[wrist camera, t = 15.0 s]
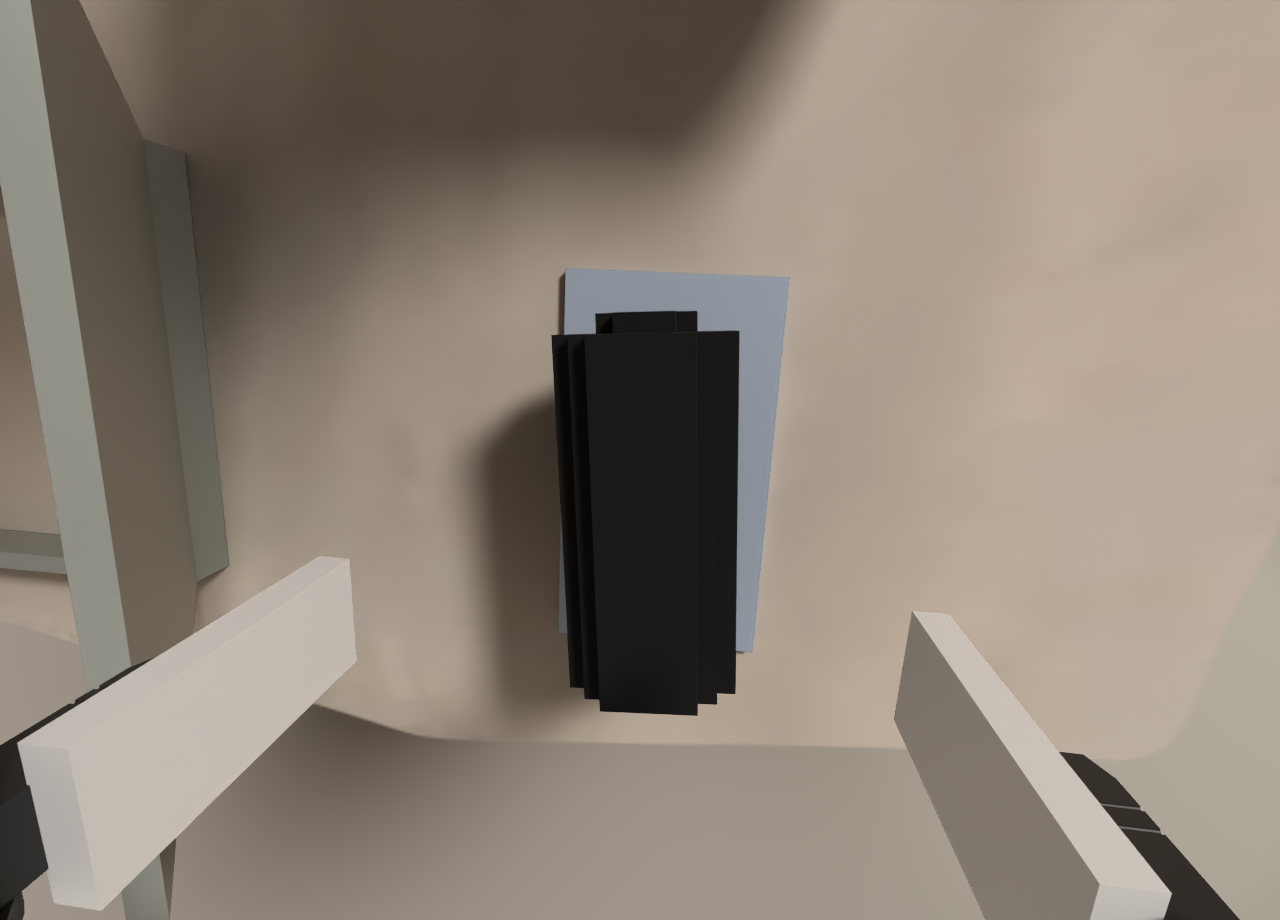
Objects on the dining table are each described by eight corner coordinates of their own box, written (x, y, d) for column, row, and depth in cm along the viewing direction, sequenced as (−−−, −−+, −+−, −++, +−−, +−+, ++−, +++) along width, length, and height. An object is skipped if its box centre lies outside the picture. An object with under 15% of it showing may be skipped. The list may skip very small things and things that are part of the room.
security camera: (604, 649, 35) (565, 776, 25) (591, 317, 31) (539, 313, 21) (727, 654, 34) (736, 786, 24) (730, 313, 30) (742, 307, 20)
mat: (568, 269, 31) (565, 268, 30) (787, 278, 30) (789, 277, 29) (560, 628, 35) (558, 633, 35) (751, 646, 34) (752, 652, 34)
